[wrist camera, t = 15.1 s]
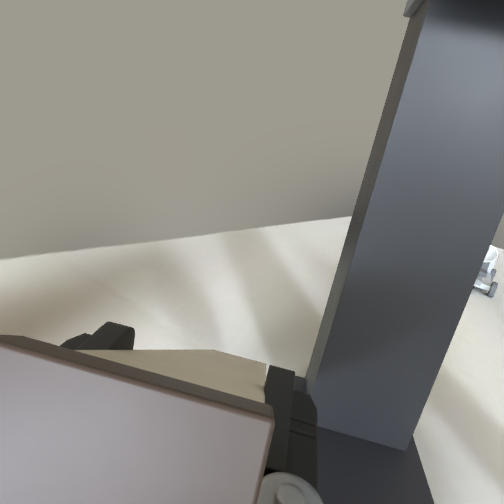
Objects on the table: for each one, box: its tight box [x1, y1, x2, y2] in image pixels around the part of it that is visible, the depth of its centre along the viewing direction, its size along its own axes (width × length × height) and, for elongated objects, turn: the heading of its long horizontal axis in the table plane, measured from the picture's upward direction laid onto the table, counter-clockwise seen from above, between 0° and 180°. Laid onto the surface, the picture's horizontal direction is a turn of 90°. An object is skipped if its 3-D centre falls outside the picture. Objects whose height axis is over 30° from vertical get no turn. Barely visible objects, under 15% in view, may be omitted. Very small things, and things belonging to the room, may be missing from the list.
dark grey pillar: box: [293, 0, 504, 504], centre depth 26 cm, size 10×13×32 cm
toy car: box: [474, 245, 499, 297], centre depth 82 cm, size 18×10×12 cm
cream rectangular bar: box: [0, 335, 275, 504], centre depth 16 cm, size 4×24×3 cm, turn 171°
